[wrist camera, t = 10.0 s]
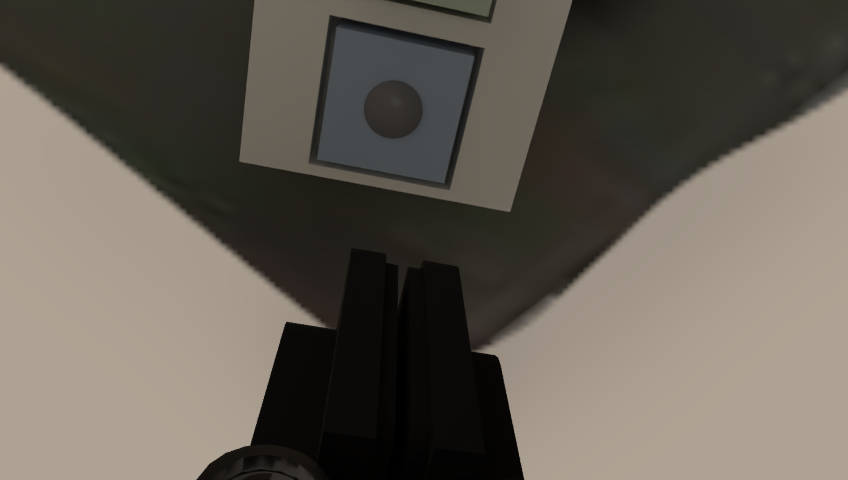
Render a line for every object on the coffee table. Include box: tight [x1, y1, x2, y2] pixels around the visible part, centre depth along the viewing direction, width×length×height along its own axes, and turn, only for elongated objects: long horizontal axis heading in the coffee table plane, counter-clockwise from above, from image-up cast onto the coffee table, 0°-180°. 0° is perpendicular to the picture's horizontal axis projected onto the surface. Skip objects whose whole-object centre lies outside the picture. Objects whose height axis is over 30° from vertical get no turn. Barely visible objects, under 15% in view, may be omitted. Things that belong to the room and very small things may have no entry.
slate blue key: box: [317, 18, 475, 183], centre depth 24 cm, size 5×5×2 cm
